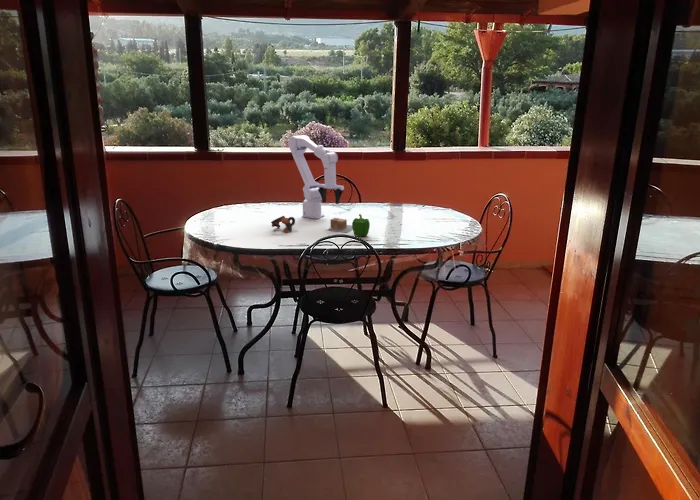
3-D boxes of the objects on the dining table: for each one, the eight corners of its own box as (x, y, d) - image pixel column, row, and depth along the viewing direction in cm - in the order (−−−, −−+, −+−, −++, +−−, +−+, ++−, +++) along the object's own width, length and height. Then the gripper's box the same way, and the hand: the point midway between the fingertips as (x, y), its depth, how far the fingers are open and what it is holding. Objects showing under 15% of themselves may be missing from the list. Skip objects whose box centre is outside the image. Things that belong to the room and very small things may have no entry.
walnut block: (330, 219, 271) (342, 221, 268) (334, 217, 275) (346, 219, 272) (330, 227, 273) (342, 229, 270) (334, 225, 276) (346, 227, 273)
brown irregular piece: (280, 235, 262) (272, 220, 261) (274, 239, 270) (266, 224, 270) (301, 225, 267) (293, 210, 267) (294, 229, 276) (287, 214, 275)
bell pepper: (368, 238, 256) (368, 217, 253) (350, 237, 258) (351, 217, 254) (370, 233, 264) (370, 213, 261) (353, 232, 265) (353, 212, 262)
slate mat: (328, 230, 269) (328, 229, 269) (340, 224, 279) (340, 223, 279) (346, 233, 264) (346, 232, 264) (357, 226, 274) (357, 226, 274)
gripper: (313, 176, 276) (314, 203, 280) (338, 178, 269) (339, 205, 273) (320, 174, 282) (321, 200, 286) (345, 176, 275) (346, 202, 279)
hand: (330, 202), depth 280 cm, fingers open, 7 cm apart
